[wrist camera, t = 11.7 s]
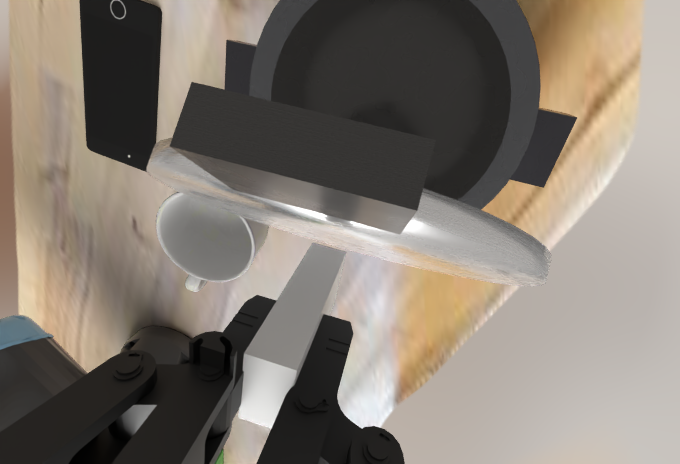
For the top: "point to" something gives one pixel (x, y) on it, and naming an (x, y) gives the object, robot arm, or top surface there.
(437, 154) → the cooker
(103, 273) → the top surface
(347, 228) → the lid
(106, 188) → the top surface
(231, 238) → the teacup
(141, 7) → the cell phone
